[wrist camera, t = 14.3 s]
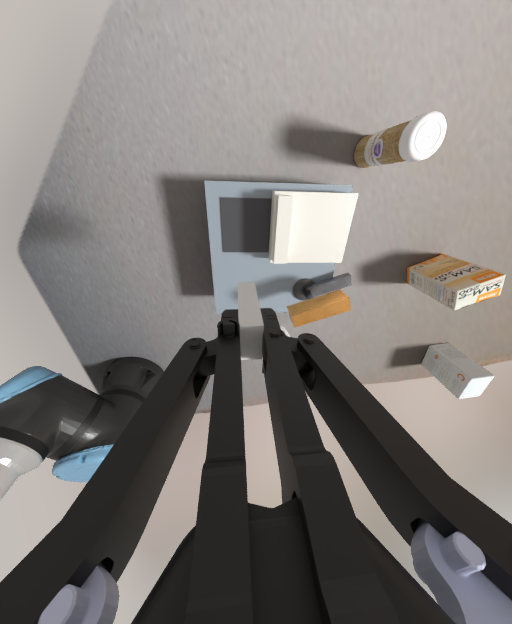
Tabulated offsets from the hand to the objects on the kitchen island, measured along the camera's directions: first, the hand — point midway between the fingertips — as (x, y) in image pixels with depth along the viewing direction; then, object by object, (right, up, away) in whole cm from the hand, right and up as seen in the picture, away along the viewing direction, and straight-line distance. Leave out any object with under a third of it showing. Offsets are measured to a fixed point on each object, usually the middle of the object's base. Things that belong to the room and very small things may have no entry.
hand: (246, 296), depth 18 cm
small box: (+56, -14, +46) cm, 74 cm away
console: (+4, +12, +24) cm, 27 cm away
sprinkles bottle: (+20, +26, +17) cm, 37 cm away
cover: (+9, +12, +15) cm, 22 cm away
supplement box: (+40, +9, +30) cm, 51 cm away
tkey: (+12, +3, +20) cm, 23 cm away
